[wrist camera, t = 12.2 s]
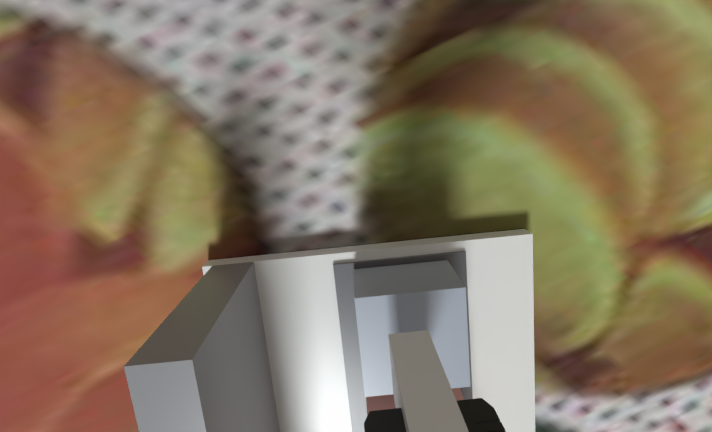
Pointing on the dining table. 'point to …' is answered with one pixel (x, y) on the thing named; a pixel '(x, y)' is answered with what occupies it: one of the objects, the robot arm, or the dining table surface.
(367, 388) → the slate key
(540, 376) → the dining table surface
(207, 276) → the keypad
